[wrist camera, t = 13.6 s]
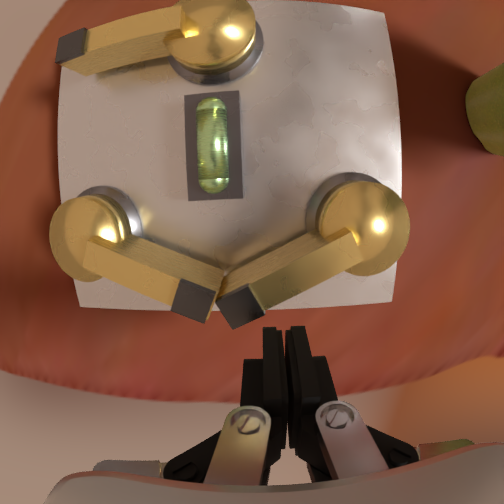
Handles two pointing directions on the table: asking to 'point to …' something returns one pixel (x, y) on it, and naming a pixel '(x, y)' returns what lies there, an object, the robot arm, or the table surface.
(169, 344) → the table surface
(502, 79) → the plant pot
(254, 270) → the knob
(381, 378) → the table surface
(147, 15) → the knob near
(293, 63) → the base plate
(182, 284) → the knob
